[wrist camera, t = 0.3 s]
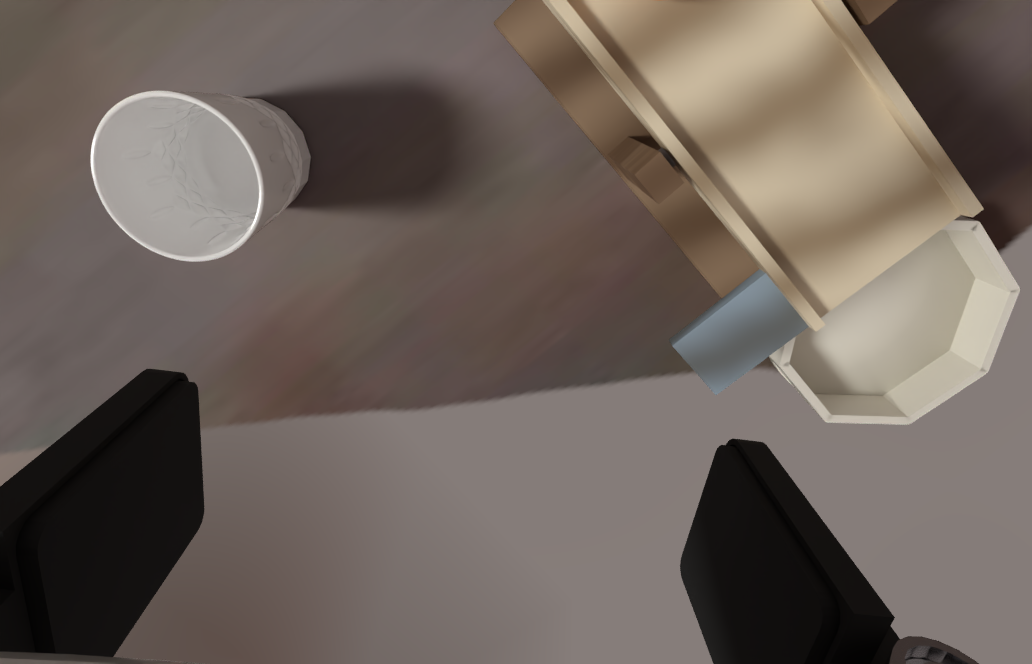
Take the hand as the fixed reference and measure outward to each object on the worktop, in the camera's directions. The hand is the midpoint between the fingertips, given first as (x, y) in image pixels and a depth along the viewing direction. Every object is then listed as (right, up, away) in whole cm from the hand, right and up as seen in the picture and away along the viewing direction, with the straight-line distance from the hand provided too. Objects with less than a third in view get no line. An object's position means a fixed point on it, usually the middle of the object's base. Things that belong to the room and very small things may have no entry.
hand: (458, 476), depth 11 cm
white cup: (-15, +14, +27) cm, 34 cm away
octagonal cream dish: (+26, +4, +32) cm, 41 cm away
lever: (+11, +13, +23) cm, 29 cm away
